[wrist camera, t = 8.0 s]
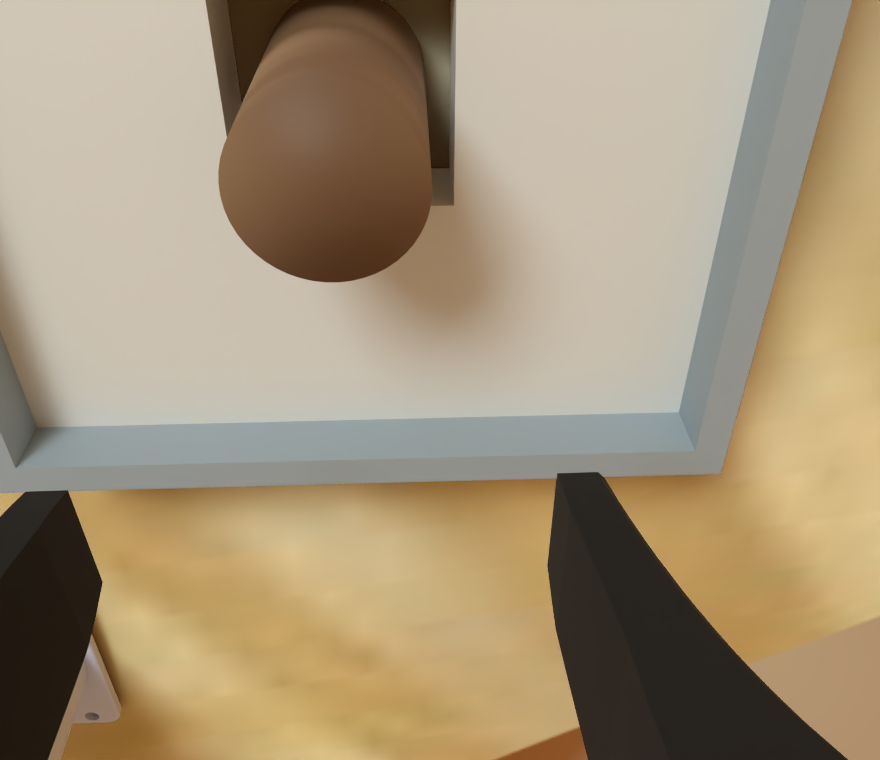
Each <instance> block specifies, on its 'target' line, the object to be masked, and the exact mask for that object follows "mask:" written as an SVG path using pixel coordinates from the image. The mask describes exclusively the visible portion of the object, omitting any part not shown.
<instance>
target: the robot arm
mask: <svg viewBox="0 0 880 760" xmlns="http://www.w3.org/2000/svg"><path fill="white" fill-rule="evenodd" d="M548 573H549V581H550V589H551V597H552V604H553V612H554V619H555V626H556V631H557V636H558V640H559V644H560V648H561V652H562V656H563V660H564V664H565V669H566V673H567V677H568V681H569V685H570V689H571V693H572V697H573V701H574V705H575V709H576V713H577V717H578V721H579V725H580V729H581V733H582V736H583V741H584V745H585V749H586V753H587V757H588V760H848V759H847V758H845V757H844V756H843V755H842V754H841V753H840V752H839V751H837V750H836V749H835V748H834V747H833V746H832V745H830V744H829V743H828V742H827V741H826V740H825V739H824V738H822V737H821V736H820V735H819V734H818V733H817V732H816V731H814V730H813V729H812V728H811V727H809V725H807V724H806V723H805V722H804V721H803V720H802V719H801V718H800V717H799V716H798V715H797V714H796V713H795V712H794V711H793V710H792V709H791V708H790V707H788V706H787V705H786V704H785V703H784V702H783V701H782V700H781V699H780V698H779V697H778V696H777V695H776V694H775V693H774V692H773V691H772V690H771V689H770V688H769V687H768V686H767V685H766V684H765V683H764V682H763V681H762V680H761V679H760V678H759V677H758V676H757V675H756V674H755V673H754V672H753V671H752V670H751V669H750V668H749V667H748V666H747V664H746V663H745V662H744V661H743V660H742V659H741V658H740V657H739V656H738V655H737V654H736V653H735V652H734V650H733V649H732V648H731V647H730V646H729V645H728V644H727V643H726V642H725V640H724V639H723V638H722V637H721V636H720V635H719V634H718V633H717V631H716V630H715V629H714V628H713V627H712V625H711V624H710V623H709V622H708V621H707V620H706V618H705V617H704V616H703V615H702V614H701V613H700V611H699V610H698V609H697V608H696V607H695V605H694V604H693V603H692V602H691V600H690V599H689V598H688V597H687V595H686V594H685V593H684V592H683V591H682V589H681V588H680V587H679V585H678V584H677V583H676V581H675V580H674V579H673V577H672V576H671V575H670V573H669V572H668V571H667V570H666V568H665V567H664V566H663V564H662V563H661V562H660V560H659V559H658V558H657V556H656V555H655V554H654V552H653V551H652V549H651V548H650V547H649V545H648V544H647V543H646V541H645V540H644V538H643V537H642V535H641V534H640V532H639V531H638V530H637V528H636V527H635V525H634V524H633V522H632V521H631V519H630V518H629V516H628V515H627V513H626V512H625V510H624V509H623V507H622V506H621V504H620V502H619V501H618V499H617V498H616V496H615V494H614V493H613V491H612V490H611V488H610V486H609V485H608V483H607V481H606V480H605V478H604V477H603V476H602V475H601V474H600V473H599V472H581V473H557V480H556V490H555V499H554V509H553V518H552V528H551V537H550V547H549V557H548ZM101 587H102V580H101V577H100V574H99V572H98V569H97V566H96V564H95V561H94V559H93V556H92V553H91V551H90V548H89V545H88V543H87V540H86V537H85V535H84V532H83V530H82V527H81V524H80V522H79V519H78V516H77V514H76V511H75V508H74V506H73V503H72V501H71V498H70V495H69V493H68V490H59V491H30V492H25V493H24V494H23V495H22V496H21V497H20V498H19V499H18V500H17V501H15V502H14V503H13V504H12V505H11V506H10V507H9V508H8V509H7V510H6V511H5V512H4V514H3V515H2V516H1V517H0V760H61V758H62V755H63V752H64V749H65V746H66V743H67V740H68V737H69V734H70V731H71V728H72V725H73V724H82V723H109V722H114V721H116V720H118V718H119V717H120V714H121V710H122V709H121V705H120V702H119V700H118V697H117V695H116V692H115V690H114V687H113V685H112V683H111V680H110V678H109V675H108V673H107V670H106V668H105V665H104V663H103V660H102V658H101V655H100V653H99V650H98V648H97V646H96V643H95V641H94V638H93V636H92V629H93V625H94V621H95V617H96V612H97V607H98V602H99V597H100V592H101Z"/></svg>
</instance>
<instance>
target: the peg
mask: <svg viewBox="0 0 880 760" xmlns="http://www.w3.org/2000/svg"><path fill="white" fill-rule="evenodd" d="M218 184H219V191H220V197H221V201H222V204H223V208H224V210H225V213H226V215H227V217H228V219H229V222H230V223H231V225H232V227H233V228H234V230H235V232H236V233H237V235H238V236H239V237H240V238H241V240H242V241H243V242H244V243H245V244H246V245H247V246H248V247H249V248H250V249H251V250H252V251H253V252H254V253H255V254H256V255H257V256H259V257H260V258H261V259H262V260H264V261H265V262H267V263H268V264H270V265H271V266H273V267H275V268H277V269H279V270H281V271H283V272H285V273H287V274H290V275H293V276H296V277H298V278H302V279H306V280H311V281H318V282H347V281H353V280H358V279H362V278H365V277H368V276H371V275H374V274H376V273H378V272H380V271H382V270H384V269H386V268H388V267H389V266H391V265H392V264H394V263H395V262H396V261H398V260H399V259H400V258H401V257H402V256H403V255H404V254H406V253H407V252H408V250H409V249H410V248H411V247H412V246H413V245H414V243H415V242H416V240H417V239H418V237H419V236H420V234H421V232H422V230H423V228H424V226H425V224H426V222H427V218H428V215H429V212H430V207H431V201H432V174H431V160H430V146H429V132H428V118H427V104H426V90H425V77H424V65H423V58H422V54H421V50H420V46H419V44H418V41H417V39H416V37H415V35H414V33H413V31H412V29H411V28H410V26H409V25H408V24H407V22H406V21H405V20H404V18H403V17H402V16H401V15H400V14H399V13H398V12H397V11H396V10H395V9H393V8H392V7H391V6H390V5H388V4H387V3H385V2H384V1H382V0H301V1H299V2H298V3H296V4H295V5H294V6H293V7H292V8H290V9H289V10H288V11H287V12H286V14H285V15H284V16H283V17H282V18H281V20H280V21H279V23H278V24H277V26H276V28H275V30H274V32H273V34H272V37H271V39H270V41H269V43H268V46H267V48H266V50H265V52H264V55H263V57H262V59H261V62H260V64H259V66H258V68H257V71H256V73H255V75H254V77H253V80H252V82H251V84H250V87H249V89H248V91H247V93H246V96H245V98H244V100H243V103H242V105H241V107H240V109H239V112H238V114H237V116H236V118H235V121H234V123H233V125H232V128H231V130H230V132H229V134H228V137H227V139H226V141H225V143H224V146H223V150H222V153H221V156H220V162H219V170H218Z"/></svg>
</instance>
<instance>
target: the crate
mask: <svg viewBox="0 0 880 760" xmlns="http://www.w3.org/2000/svg"><path fill="white" fill-rule="evenodd" d="M851 3H852V0H451V48H450V168H441V169H431V174H432V201H431V207H430V212H429V215H428V218H427V222H426V224H425V226H424V228H423V230H422V232H421V234H420V236H419V237H418V239H417V240H416V242H415V243H414V245H413V246H412V247H411V248H410V249H409V250H408V252H407V253H406V254H404V255H403V256H402V257H401V258H400V259H399V260H398V261H396V262H395V263H394V264H392V265H391V266H389V267H388V268H386V269H384V270H382V271H380V272H378V273H376V274H374V275H371V276H368V277H365V278H362V279H358V280H353V281H347V282H318V281H311V280H306V279H302V278H298V277H296V276H293V275H290V274H287V273H285V272H283V271H281V270H279V269H277V268H275V267H273V266H271V265H270V264H268V263H267V262H265V261H264V260H262V259H261V258H260V257H259V256H257V255H256V254H255V253H254V252H253V251H252V250H251V249H250V248H249V247H248V246H247V245H246V244H245V243H244V242H243V241H242V240H241V238H240V237H239V236H238V235H237V233H236V232H235V230H234V228H233V227H232V225H231V223H230V222H229V219H228V217H227V215H226V213H225V210H224V208H223V204H222V201H221V197H220V191H219V184H218V170H219V162H220V156H221V153H222V150H223V146H224V143H225V141H226V139H227V137H228V134H229V132H230V130H231V128H232V125H233V123H234V121H235V118H236V116H237V114H238V112H239V109H240V107H241V105H242V102H241V95H240V88H239V81H238V74H237V67H236V60H235V53H234V46H233V39H232V32H231V25H230V18H229V11H228V4H227V0H0V493H19V492H30V491H59V490H68V491H95V490H133V489H171V488H209V487H247V486H285V485H323V484H361V483H399V482H437V481H475V480H513V479H551V478H557V473H581V472H599V473H600V474H601V475H602V476H603V477H627V476H665V475H703V474H721V471H722V468H723V464H724V461H725V457H726V453H727V450H728V446H729V443H730V439H731V435H732V432H733V428H734V425H735V421H736V417H737V414H738V410H739V407H740V403H741V399H742V396H743V392H744V389H745V385H746V381H747V378H748V374H749V371H750V367H751V363H752V360H753V356H754V353H755V349H756V345H757V342H758V338H759V335H760V331H761V327H762V324H763V320H764V317H765V313H766V309H767V306H768V302H769V299H770V295H771V291H772V288H773V284H774V281H775V277H776V273H777V270H778V266H779V263H780V259H781V255H782V252H783V248H784V245H785V241H786V237H787V234H788V230H789V227H790V223H791V219H792V216H793V212H794V209H795V205H796V201H797V198H798V194H799V191H800V187H801V183H802V180H803V176H804V173H805V169H806V165H807V162H808V158H809V155H810V151H811V147H812V144H813V140H814V137H815V133H816V129H817V126H818V122H819V119H820V115H821V111H822V108H823V104H824V101H825V97H826V93H827V90H828V86H829V82H830V79H831V75H832V72H833V68H834V64H835V61H836V57H837V54H838V50H839V46H840V43H841V39H842V36H843V32H844V28H845V25H846V21H847V18H848V14H849V10H850V7H851Z"/></svg>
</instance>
